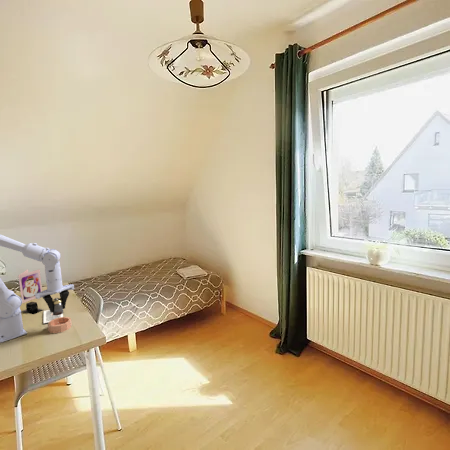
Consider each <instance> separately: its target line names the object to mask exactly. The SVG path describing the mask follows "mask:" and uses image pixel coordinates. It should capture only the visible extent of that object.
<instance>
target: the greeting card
mask: <svg viewBox="0 0 450 450" xmlns="http://www.w3.org/2000/svg"><path fill="white" fill-rule="evenodd" d="M18 282H19V289H20V298H21V299H22V304H24V303H28V302H29V301H30V302H31V301H32V300H34V299H36V297H35V293H39V292H41V291H43V286H42V277H41V270H40V268H39V269H36V270H33V271H29V269H26V270H25V271H23V272H21V273H20V274H18Z"/></svg>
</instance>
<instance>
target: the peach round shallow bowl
mask: <svg viewBox="0 0 450 450" xmlns="http://www.w3.org/2000/svg"><path fill="white" fill-rule="evenodd" d="M72 326H73V325H72V318H71V317H69V316H63V317H60V318H56V319H53V320H51V321H50V322H47V330H48V332H49V333H50V334H57V333H59V334H60V333H63V332H67V331H68V330H70V329H71V328H72Z"/></svg>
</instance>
